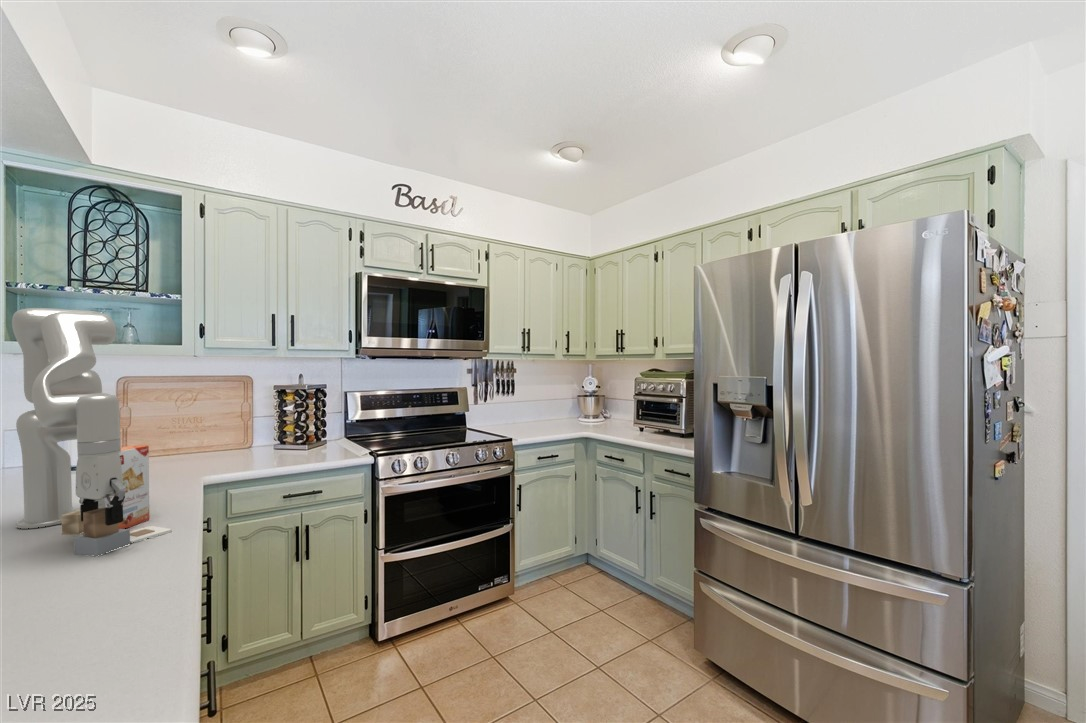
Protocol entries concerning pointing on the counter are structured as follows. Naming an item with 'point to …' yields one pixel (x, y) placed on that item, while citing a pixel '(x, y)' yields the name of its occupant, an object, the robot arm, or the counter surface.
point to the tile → (147, 533)
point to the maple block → (72, 523)
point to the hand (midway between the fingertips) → (102, 521)
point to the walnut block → (97, 524)
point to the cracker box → (134, 485)
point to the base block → (101, 543)
